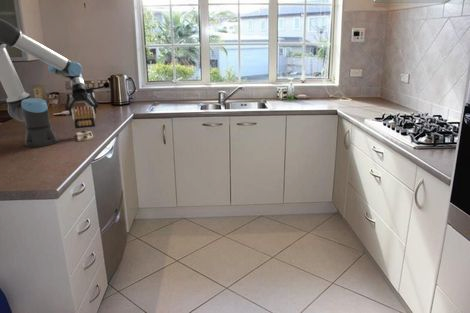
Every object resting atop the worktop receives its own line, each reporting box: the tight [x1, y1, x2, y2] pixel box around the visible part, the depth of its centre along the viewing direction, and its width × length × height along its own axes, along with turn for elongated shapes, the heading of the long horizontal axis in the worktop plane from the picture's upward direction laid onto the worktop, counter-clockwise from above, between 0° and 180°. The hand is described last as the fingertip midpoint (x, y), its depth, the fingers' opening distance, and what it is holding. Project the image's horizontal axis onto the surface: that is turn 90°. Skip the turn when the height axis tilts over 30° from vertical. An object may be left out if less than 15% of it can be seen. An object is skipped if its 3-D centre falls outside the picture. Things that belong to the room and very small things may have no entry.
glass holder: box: [81, 88, 96, 108], centre depth 314 cm, size 9×14×15 cm, turn 77°
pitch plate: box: [76, 129, 95, 142], centre depth 215 cm, size 8×17×2 cm, turn 24°
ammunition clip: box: [73, 105, 96, 129], centre depth 217 cm, size 11×2×12 cm, turn 110°
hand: (84, 118), depth 214 cm, fingers closed on ammunition clip, 10 cm apart
